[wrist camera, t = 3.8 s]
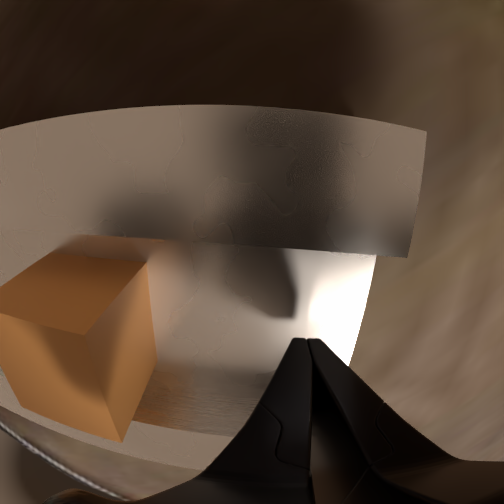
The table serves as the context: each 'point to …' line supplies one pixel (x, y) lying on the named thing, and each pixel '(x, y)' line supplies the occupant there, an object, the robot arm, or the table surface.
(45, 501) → the robot arm
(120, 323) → the peach toy brick
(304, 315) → the slot rail
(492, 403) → the table surface
